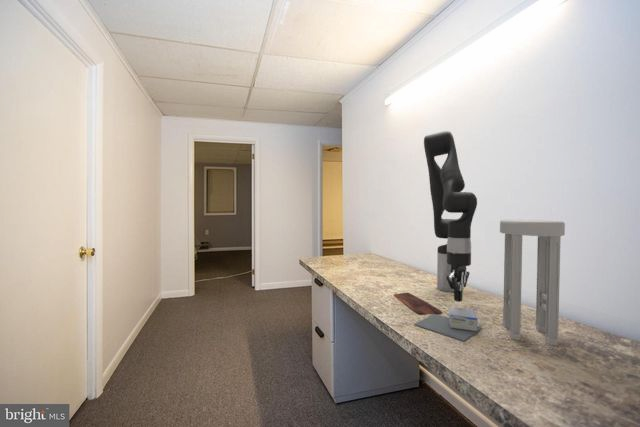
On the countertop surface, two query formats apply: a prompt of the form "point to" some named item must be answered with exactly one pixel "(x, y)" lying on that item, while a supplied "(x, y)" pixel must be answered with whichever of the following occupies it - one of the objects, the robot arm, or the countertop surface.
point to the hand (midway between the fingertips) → (458, 300)
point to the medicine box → (463, 318)
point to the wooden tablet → (417, 304)
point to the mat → (445, 327)
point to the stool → (546, 275)
